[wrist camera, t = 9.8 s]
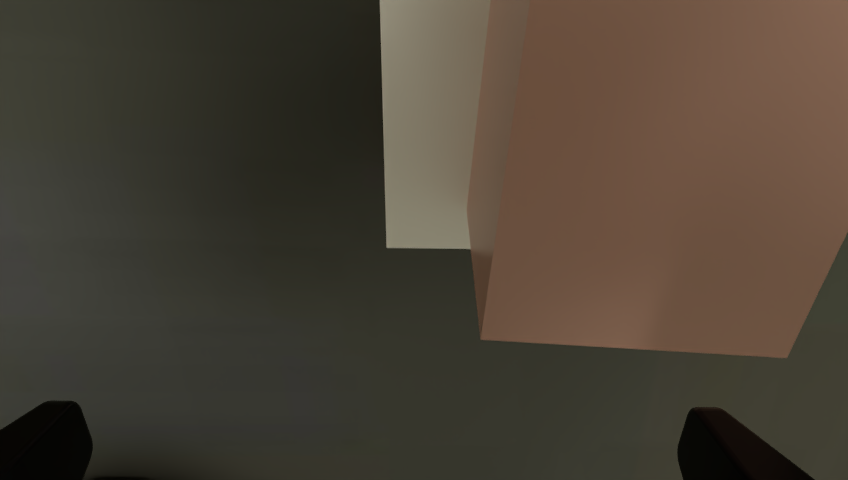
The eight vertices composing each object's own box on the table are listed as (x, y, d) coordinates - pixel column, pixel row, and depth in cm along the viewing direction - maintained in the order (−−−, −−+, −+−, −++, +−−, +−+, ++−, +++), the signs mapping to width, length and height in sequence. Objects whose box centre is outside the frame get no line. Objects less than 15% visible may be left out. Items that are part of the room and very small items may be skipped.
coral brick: (685, 224, 15) (786, 357, 11) (466, 210, 15) (480, 339, 11) (808, -157, 11) (1050, -189, 7) (511, -181, 11) (563, -228, 7)
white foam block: (699, 174, 20) (774, 252, 15) (396, 170, 20) (386, 247, 16) (797, -201, 15) (948, -240, 10) (390, -204, 15) (373, -244, 10)
